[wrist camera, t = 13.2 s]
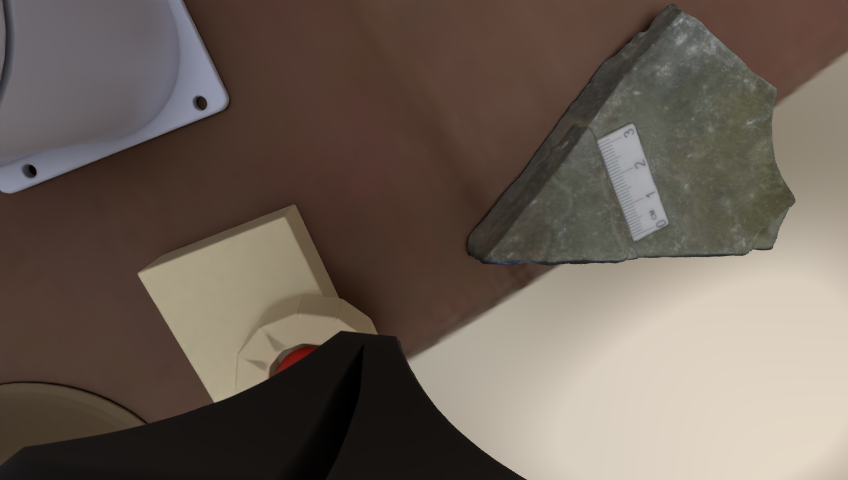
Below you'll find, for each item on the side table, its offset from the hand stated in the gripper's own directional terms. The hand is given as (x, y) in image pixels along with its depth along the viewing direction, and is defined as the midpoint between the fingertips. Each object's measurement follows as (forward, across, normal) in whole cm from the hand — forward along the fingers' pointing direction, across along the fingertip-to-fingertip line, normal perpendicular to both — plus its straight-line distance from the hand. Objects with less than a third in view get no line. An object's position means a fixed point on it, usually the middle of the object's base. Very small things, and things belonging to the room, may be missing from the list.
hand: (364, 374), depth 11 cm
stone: (+7, -8, -5) cm, 12 cm away
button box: (+10, +5, +3) cm, 12 cm away
